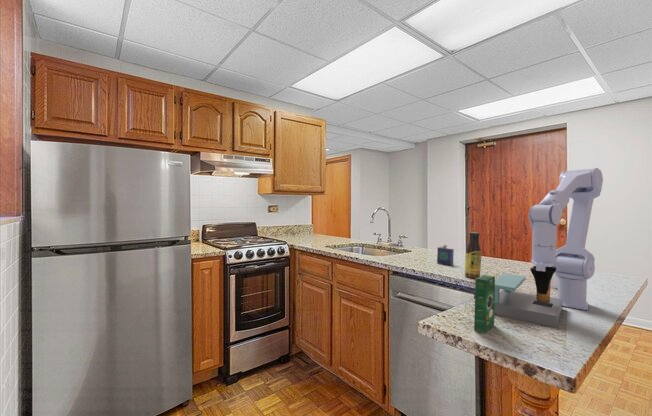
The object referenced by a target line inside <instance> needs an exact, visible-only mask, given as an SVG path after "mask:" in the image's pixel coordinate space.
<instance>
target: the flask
mask: <svg viewBox="0 0 652 416" xmlns="http://www.w3.org/2000/svg"><path fill="white" fill-rule="evenodd" d="M454 251H455V250H454V248H449V247H448V245H447V244H443V246H438V247H437V254H436V255H437V256H436V257H437V258H436V259H437V260H436V262H437V263H436V264H438V265H445V266H450V267H451V266H452V267H453V266H454V253H455V252H454Z"/></svg>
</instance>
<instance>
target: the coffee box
mask: <svg viewBox="0 0 652 416" xmlns="http://www.w3.org/2000/svg"><path fill="white" fill-rule="evenodd" d="M474 279H475V281H474V282H475V283H474V285H475V286H474V316H473V317H474V320H473V321H474V322H473V330H474V331H475V332H477V333H483V334H484V333H485V334H486V333H487V332H488V331H489V330H490V329H491V328H492V327H493V326H494V325H495V314H494V310H495V279H496V275H491V274H482V275H480V277H478V278H474Z"/></svg>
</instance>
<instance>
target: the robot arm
mask: <svg viewBox="0 0 652 416" xmlns="http://www.w3.org/2000/svg"><path fill="white" fill-rule="evenodd" d="M558 179H559V180H558V181H559V184H558V185H557V187H556V189H552V190H550V191H549V192H548V193H547V194H546V195H545V197H544V198H542V199H541V200H540V202H539V203H538V204H534V205H532V206H531V207H530V208H529V211H528V214H527V215H528V221H529V223H530V224H529V227H530V229H531V230H532V234H531V235H532V238H531V239H532V241H531V242H532V243H531V259H530V263H532V264H534V265H533V266H532V267H530V268H529V269H530V272H531V274H532V276H533V279H534V283H535V288H536V293H537V292H538V293H539V294H545V295H546V294H547V292H548V288H549V283H550V280H551V279H552V276H553V274H554V273H556V276H558V289H557V297H556V298H558V299H562V307H566V308H572V309H577V310H583V311H588V310H589V302H588V301H587V293H588V292H587V291H588V289H587V286H588V285H587V284H588V281H587V280H590V279H591V278H592V277H593V276H594V274H595V268H596V267H595V266H596V265H595V256H594V254H593V253H591V252H590V251H589V250H587V249H586V242H587V239H588V238H587V237H588V233H589V226H590V220H591V215H592V208H593V204H594V199H596V198H598V197H600V196H601V192H602V189H603V188H602V187H603V184H604V183H603V182H604V177H603V173H602V170H601V169H600V168H598V167H594V168H585V169H574V170H572V169H571V170H566V169H565V170H563V171H561V173H560V174H559V178H558ZM570 199H572V200H573V201H572V202H573V203H572V208H571V214H570V219H569V225H568V230H567V235H566V240H565V244H564V245H563V246H561V247H558V248H557V229H558V228H557V227H558V225H559V224H560V222H561V221H562V216H563V213H564V211H563V210H564V209H565V208H566V206H567V205H568V204H569V203H570Z"/></svg>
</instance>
